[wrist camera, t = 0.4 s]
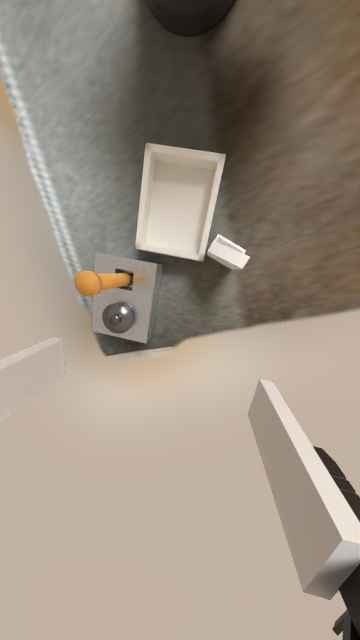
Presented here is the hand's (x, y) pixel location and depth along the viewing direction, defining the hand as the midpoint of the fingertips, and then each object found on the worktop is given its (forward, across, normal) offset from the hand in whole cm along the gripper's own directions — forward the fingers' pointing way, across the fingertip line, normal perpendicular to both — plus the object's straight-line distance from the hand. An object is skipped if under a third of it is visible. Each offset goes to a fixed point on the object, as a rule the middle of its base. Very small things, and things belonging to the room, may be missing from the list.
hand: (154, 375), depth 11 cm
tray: (+27, -5, +17) cm, 32 cm away
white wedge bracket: (+28, +5, +11) cm, 30 cm away
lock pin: (+26, -13, +3) cm, 29 cm away
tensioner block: (+27, -13, -1) cm, 30 cm away
